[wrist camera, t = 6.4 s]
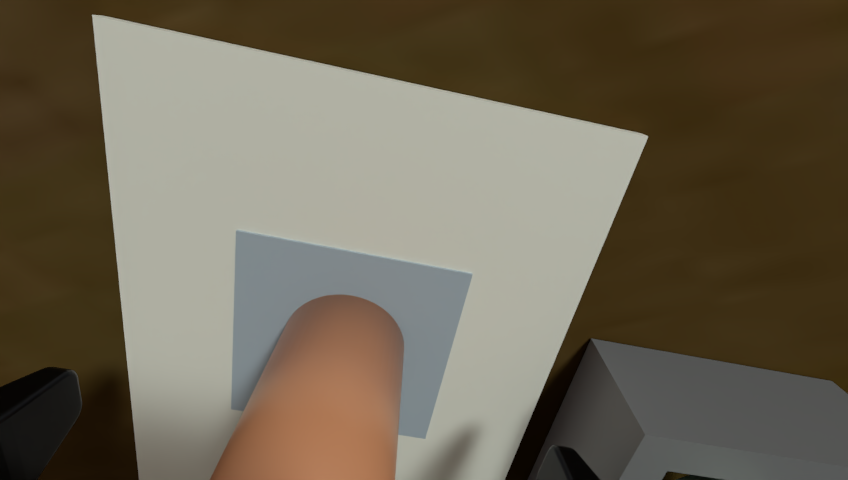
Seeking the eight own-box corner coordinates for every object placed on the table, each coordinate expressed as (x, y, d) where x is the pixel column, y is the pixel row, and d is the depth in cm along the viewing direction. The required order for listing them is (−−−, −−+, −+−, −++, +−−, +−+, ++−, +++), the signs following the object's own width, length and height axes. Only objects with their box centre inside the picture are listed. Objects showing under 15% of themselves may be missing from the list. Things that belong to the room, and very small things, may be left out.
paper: (640, 133, 8) (650, 137, 8) (481, 521, 13) (483, 533, 13) (104, 15, 8) (89, 14, 7) (145, 475, 12) (138, 486, 12)
